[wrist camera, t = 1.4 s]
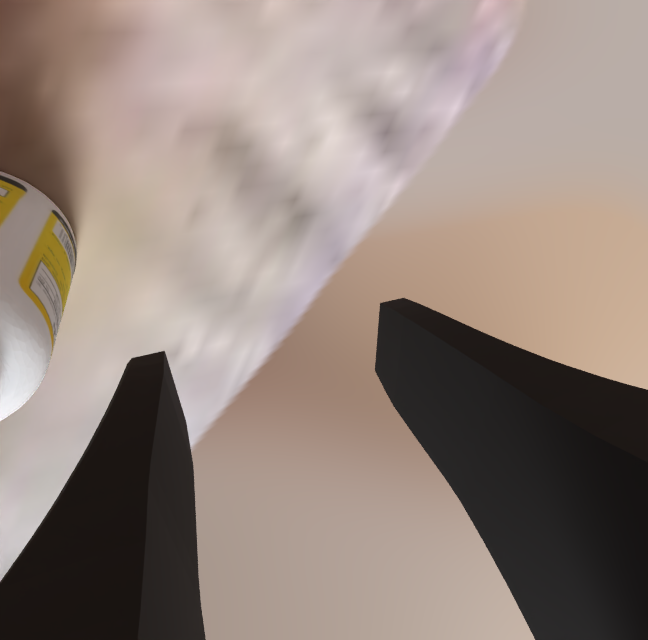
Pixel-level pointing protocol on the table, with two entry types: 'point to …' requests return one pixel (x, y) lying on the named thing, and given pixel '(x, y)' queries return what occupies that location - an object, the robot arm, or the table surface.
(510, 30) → the table surface
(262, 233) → the table surface
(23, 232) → the supplement bottle
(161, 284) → the table surface
